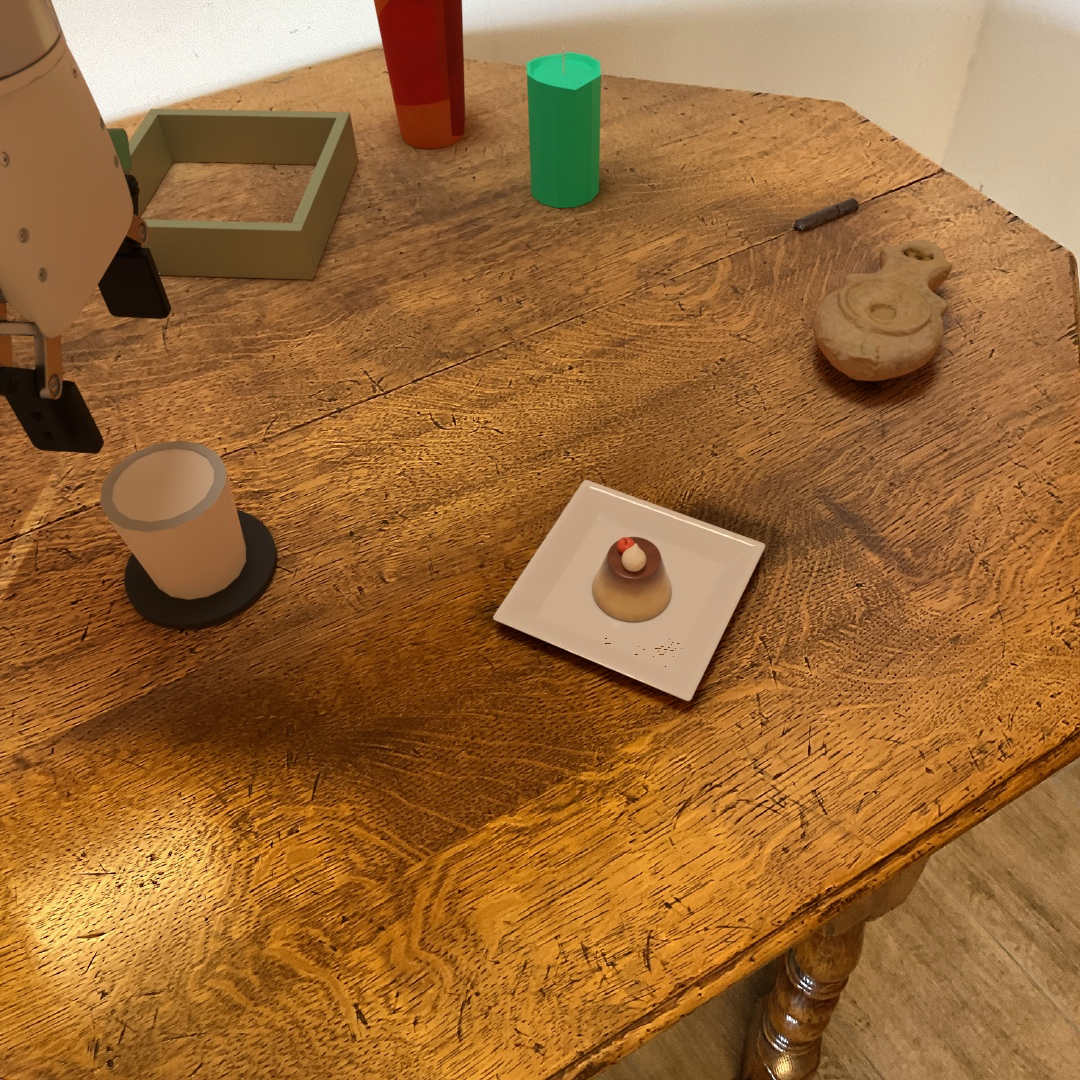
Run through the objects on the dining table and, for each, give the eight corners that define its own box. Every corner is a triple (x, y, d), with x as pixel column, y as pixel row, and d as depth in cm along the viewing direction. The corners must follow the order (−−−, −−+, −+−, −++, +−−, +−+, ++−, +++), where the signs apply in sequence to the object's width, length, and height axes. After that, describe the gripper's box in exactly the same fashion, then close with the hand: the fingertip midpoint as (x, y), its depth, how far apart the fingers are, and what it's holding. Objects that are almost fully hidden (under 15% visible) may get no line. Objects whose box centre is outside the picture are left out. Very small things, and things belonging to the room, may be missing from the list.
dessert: (584, 490, 64) (585, 437, 60) (763, 555, 60) (776, 502, 56) (492, 629, 57) (487, 579, 54) (687, 712, 54) (696, 664, 50)
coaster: (105, 625, 58) (101, 619, 58) (156, 509, 64) (152, 503, 63) (255, 634, 57) (252, 628, 57) (293, 516, 63) (291, 510, 63)
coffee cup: (443, 101, 97) (425, -70, 85) (495, 133, 93) (483, -42, 81) (370, 131, 94) (342, -43, 82) (421, 166, 89) (398, -12, 78)
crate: (94, 273, 80) (72, 224, 77) (166, 155, 92) (150, 108, 88) (312, 280, 79) (300, 230, 76) (358, 159, 90) (350, 111, 87)
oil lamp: (928, 280, 77) (947, 222, 73) (973, 407, 68) (997, 349, 64) (789, 279, 77) (801, 223, 74) (814, 406, 68) (829, 349, 64)
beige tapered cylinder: (120, 562, 60) (75, 483, 55) (217, 501, 63) (183, 421, 58) (180, 628, 57) (139, 551, 52) (279, 561, 60) (250, 482, 55)
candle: (522, 204, 85) (516, 62, 76) (539, 167, 89) (535, 28, 79) (591, 211, 84) (593, 69, 75) (605, 173, 88) (609, 33, 78)
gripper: (-47, -76, 42) (99, 268, 55) (-300, 143, 31) (-43, 504, 44) (127, -72, 41) (231, 274, 55) (-69, 151, 30) (121, 514, 44)
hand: (108, 377), depth 49 cm, fingers open, 9 cm apart
